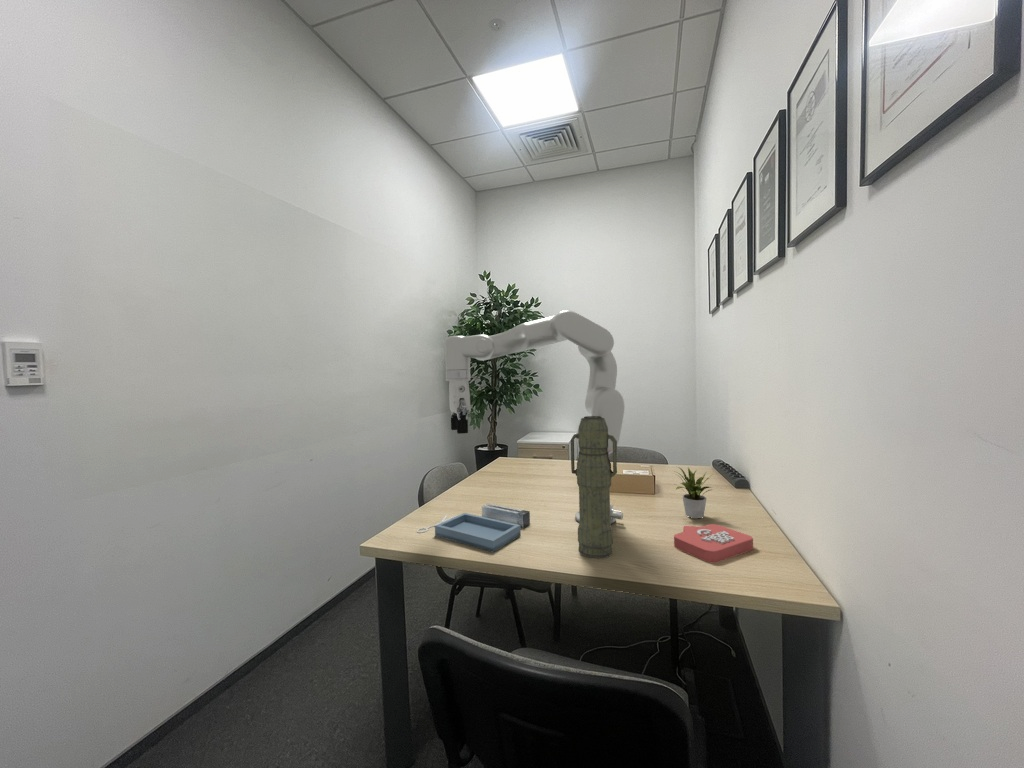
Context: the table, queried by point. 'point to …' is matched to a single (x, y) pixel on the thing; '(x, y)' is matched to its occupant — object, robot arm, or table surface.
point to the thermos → (594, 486)
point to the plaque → (712, 542)
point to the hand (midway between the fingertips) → (459, 431)
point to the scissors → (434, 525)
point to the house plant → (693, 495)
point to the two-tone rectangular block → (506, 514)
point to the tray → (478, 531)
